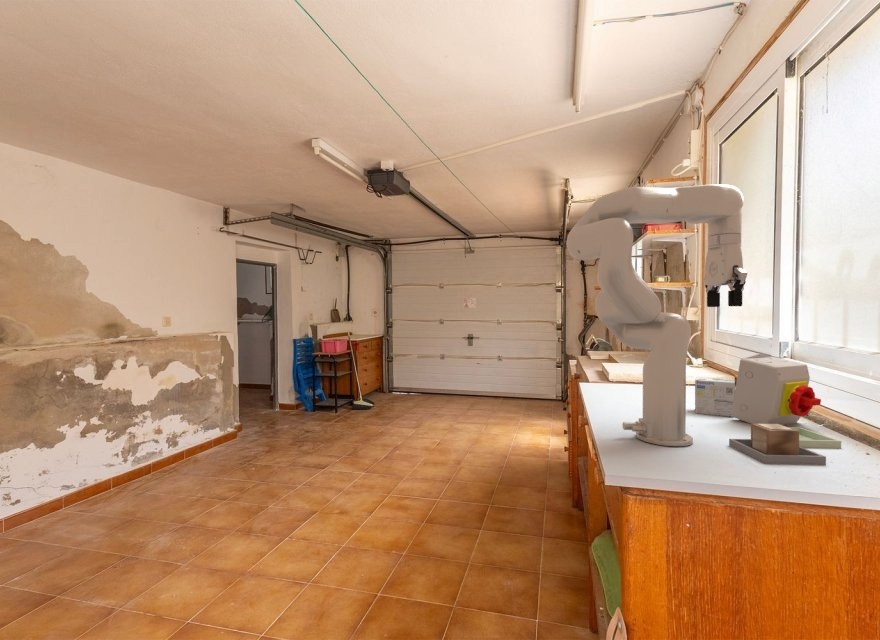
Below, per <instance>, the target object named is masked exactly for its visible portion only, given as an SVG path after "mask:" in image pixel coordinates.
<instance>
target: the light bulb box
mask: <svg viewBox="0 0 880 640" xmlns="http://www.w3.org/2000/svg"><path fill="white" fill-rule="evenodd" d="M735 389H736V383H735V380H734V379H726V378H709V377H708V378H707V377H696V378H695V381H694V405H695V406H694V407H695V409H694V413H695V414H702V415H709V416H710V415H712V416H719V415H720V417H721V416H722V417H729V416H731V413H732V407H733V401H734V395H735ZM731 418H733V417H732V416H731Z"/></svg>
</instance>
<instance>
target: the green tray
mask: <svg viewBox="0 0 880 640" xmlns="http://www.w3.org/2000/svg"><path fill="white" fill-rule="evenodd" d="M789 428H792V429H795V430H797V431H799V446H800V447H803V448H805V449H812V448H813V449H842V441H841V440H839V439H837V438H833V437H830V436H827V435H825V434H821V433H818V432H816V431H814V430H813V431H812V430H809V429H806V428H804V427H802V426H799V427H796V426H794V427H793V426H792V427H790V426H789Z"/></svg>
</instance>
